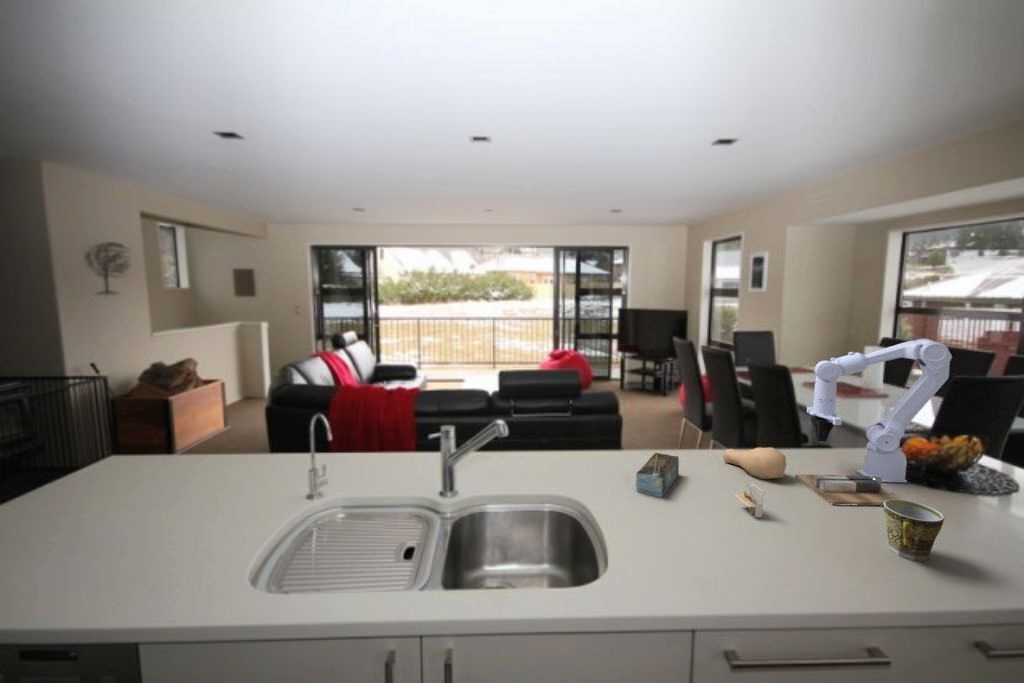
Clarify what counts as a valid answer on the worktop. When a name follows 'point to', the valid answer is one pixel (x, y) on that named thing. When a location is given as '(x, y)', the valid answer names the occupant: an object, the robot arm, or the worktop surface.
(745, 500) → the architectural model
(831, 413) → the robot arm
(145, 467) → the worktop surface
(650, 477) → the beverage carton
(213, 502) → the worktop surface
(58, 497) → the worktop surface
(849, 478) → the bar
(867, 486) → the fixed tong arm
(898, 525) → the ceramic cup
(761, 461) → the squash
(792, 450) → the worktop surface
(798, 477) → the board
